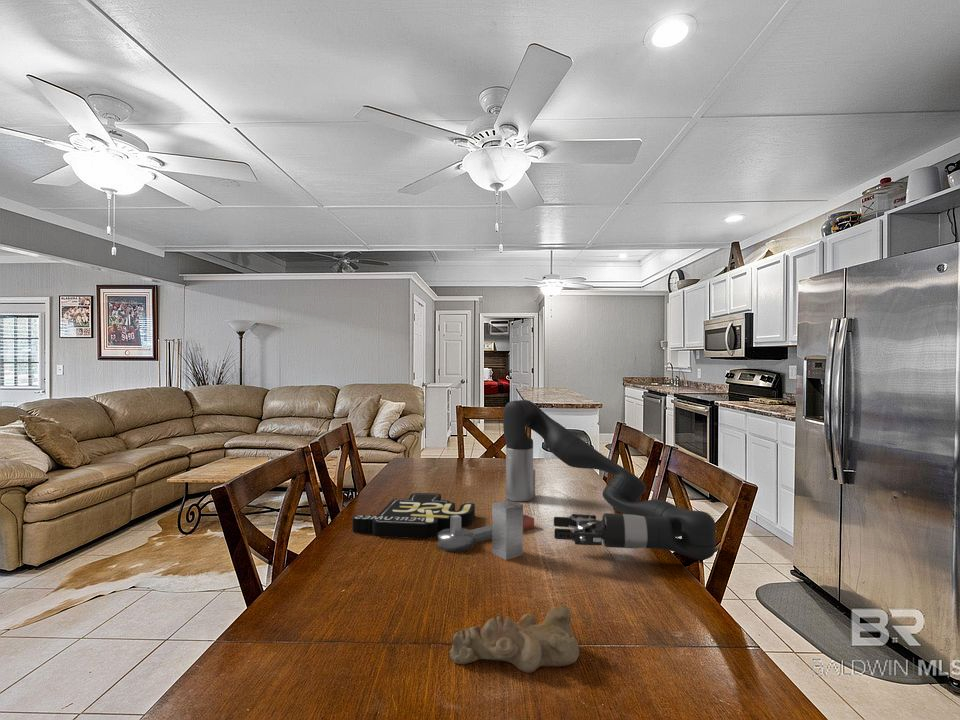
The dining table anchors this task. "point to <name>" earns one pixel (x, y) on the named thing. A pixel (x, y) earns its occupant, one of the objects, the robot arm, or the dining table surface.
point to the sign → (414, 517)
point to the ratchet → (468, 534)
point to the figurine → (519, 641)
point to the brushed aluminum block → (507, 529)
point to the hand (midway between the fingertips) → (554, 527)
